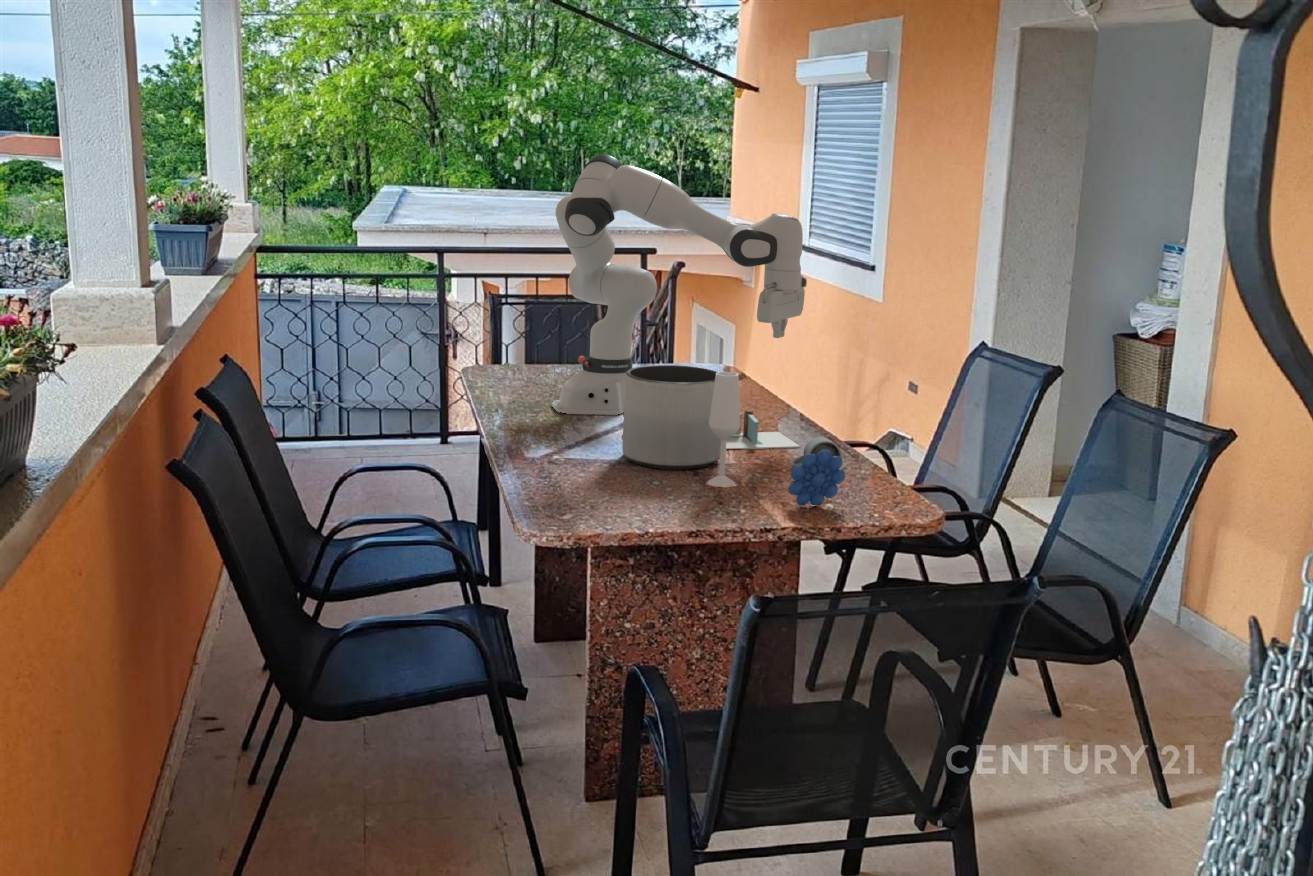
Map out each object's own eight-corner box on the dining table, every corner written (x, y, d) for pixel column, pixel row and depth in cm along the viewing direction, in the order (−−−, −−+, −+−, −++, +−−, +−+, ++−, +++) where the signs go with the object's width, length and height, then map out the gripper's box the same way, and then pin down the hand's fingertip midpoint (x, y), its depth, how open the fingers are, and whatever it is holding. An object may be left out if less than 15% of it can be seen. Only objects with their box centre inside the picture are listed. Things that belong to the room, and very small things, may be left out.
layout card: (717, 450, 292) (717, 448, 291) (699, 435, 306) (699, 433, 306) (799, 447, 297) (800, 445, 297) (778, 433, 311) (778, 431, 311)
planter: (635, 473, 268) (639, 383, 264) (612, 448, 290) (614, 365, 285) (733, 470, 274) (737, 382, 270) (702, 445, 296) (706, 364, 291)
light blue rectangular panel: (746, 435, 303) (748, 414, 302) (751, 435, 303) (752, 414, 302) (753, 443, 295) (754, 422, 294) (757, 443, 296) (759, 422, 294)
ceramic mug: (832, 465, 281) (834, 433, 280) (840, 475, 274) (842, 441, 272) (787, 466, 280) (788, 433, 279) (794, 475, 273) (795, 442, 271)
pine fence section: (703, 439, 301) (704, 412, 300) (700, 437, 303) (701, 411, 302) (753, 438, 305) (754, 411, 303) (750, 436, 307) (751, 410, 305)
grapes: (836, 500, 254) (840, 444, 251) (846, 509, 247) (850, 452, 244) (782, 500, 252) (785, 444, 249) (790, 510, 245) (794, 452, 243)
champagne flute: (711, 488, 259) (717, 377, 253) (701, 480, 265) (706, 371, 259) (741, 487, 260) (747, 376, 255) (730, 479, 267) (736, 370, 261)
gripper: (776, 285, 289) (772, 343, 292) (809, 279, 306) (806, 334, 309) (752, 283, 292) (748, 340, 295) (786, 277, 309) (783, 331, 312)
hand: (778, 337), depth 302 cm, fingers closed
